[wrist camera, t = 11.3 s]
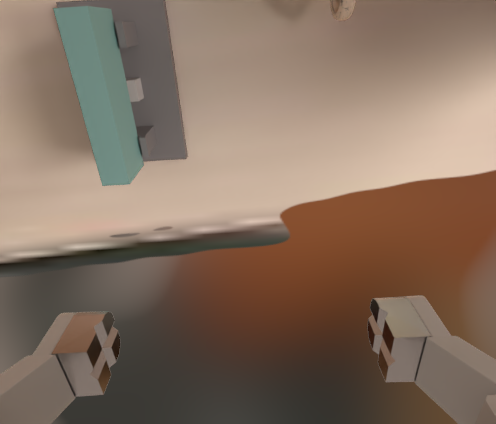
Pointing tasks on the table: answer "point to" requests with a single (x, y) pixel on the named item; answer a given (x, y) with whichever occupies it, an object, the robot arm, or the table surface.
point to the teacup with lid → (342, 9)
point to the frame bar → (101, 90)
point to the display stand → (148, 74)
